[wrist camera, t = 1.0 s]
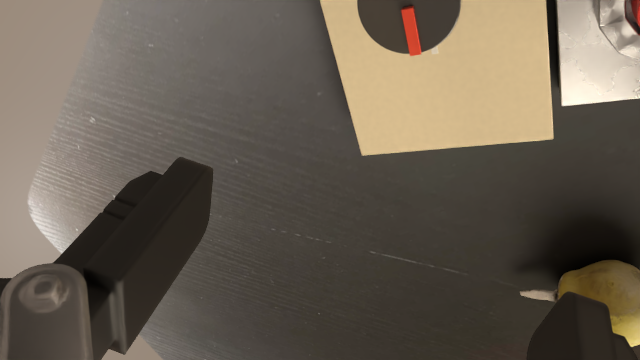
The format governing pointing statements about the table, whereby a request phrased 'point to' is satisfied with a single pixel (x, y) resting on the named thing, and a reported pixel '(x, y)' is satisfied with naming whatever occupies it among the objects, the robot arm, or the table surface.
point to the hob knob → (409, 23)
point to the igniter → (597, 51)
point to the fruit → (604, 293)
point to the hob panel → (448, 80)
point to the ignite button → (636, 10)
